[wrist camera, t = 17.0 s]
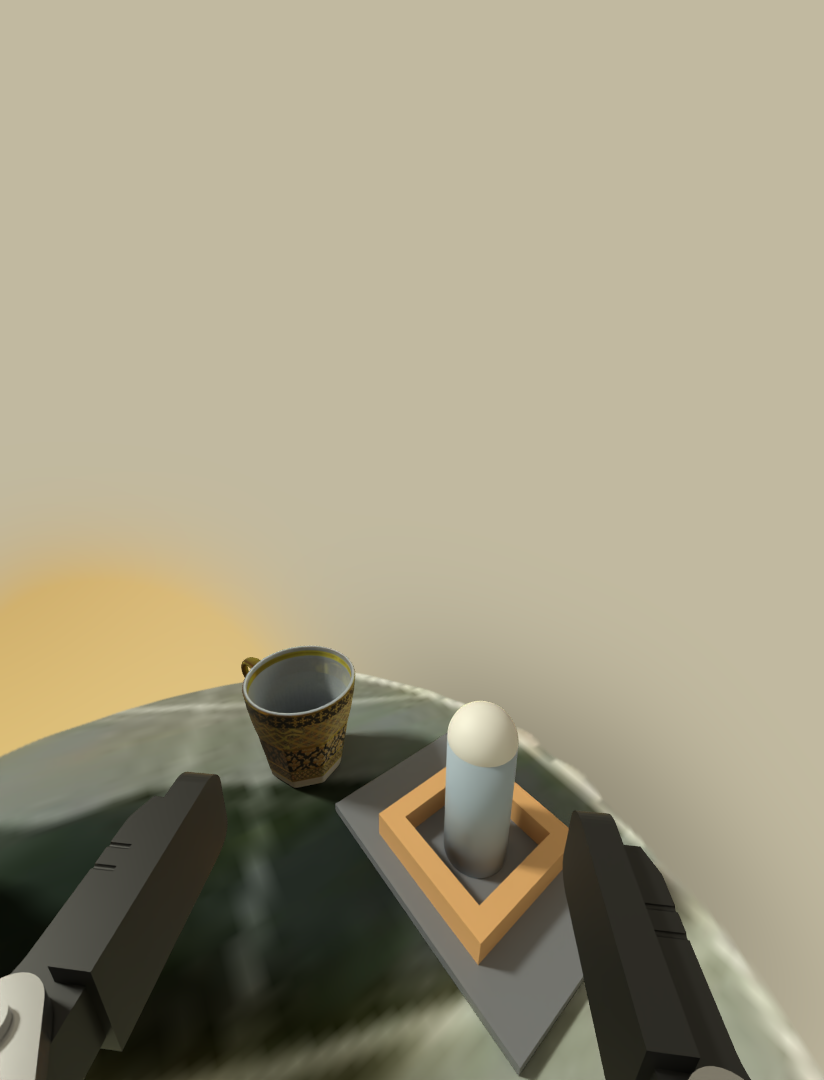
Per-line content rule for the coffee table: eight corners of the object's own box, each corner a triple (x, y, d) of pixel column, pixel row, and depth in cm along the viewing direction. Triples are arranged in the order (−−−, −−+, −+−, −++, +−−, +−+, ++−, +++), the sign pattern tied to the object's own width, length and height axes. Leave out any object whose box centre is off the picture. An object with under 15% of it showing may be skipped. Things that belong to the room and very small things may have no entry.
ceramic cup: (377, 746, 45) (376, 665, 42) (310, 825, 37) (302, 733, 34) (285, 700, 52) (278, 626, 48) (210, 760, 43) (195, 676, 40)
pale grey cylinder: (430, 841, 35) (433, 707, 31) (472, 804, 38) (480, 677, 34) (477, 893, 32) (488, 750, 27) (519, 848, 35) (536, 712, 30)
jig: (335, 810, 39) (334, 785, 38) (451, 735, 47) (452, 713, 46) (518, 1075, 24) (524, 1046, 23) (638, 899, 32) (646, 872, 31)
